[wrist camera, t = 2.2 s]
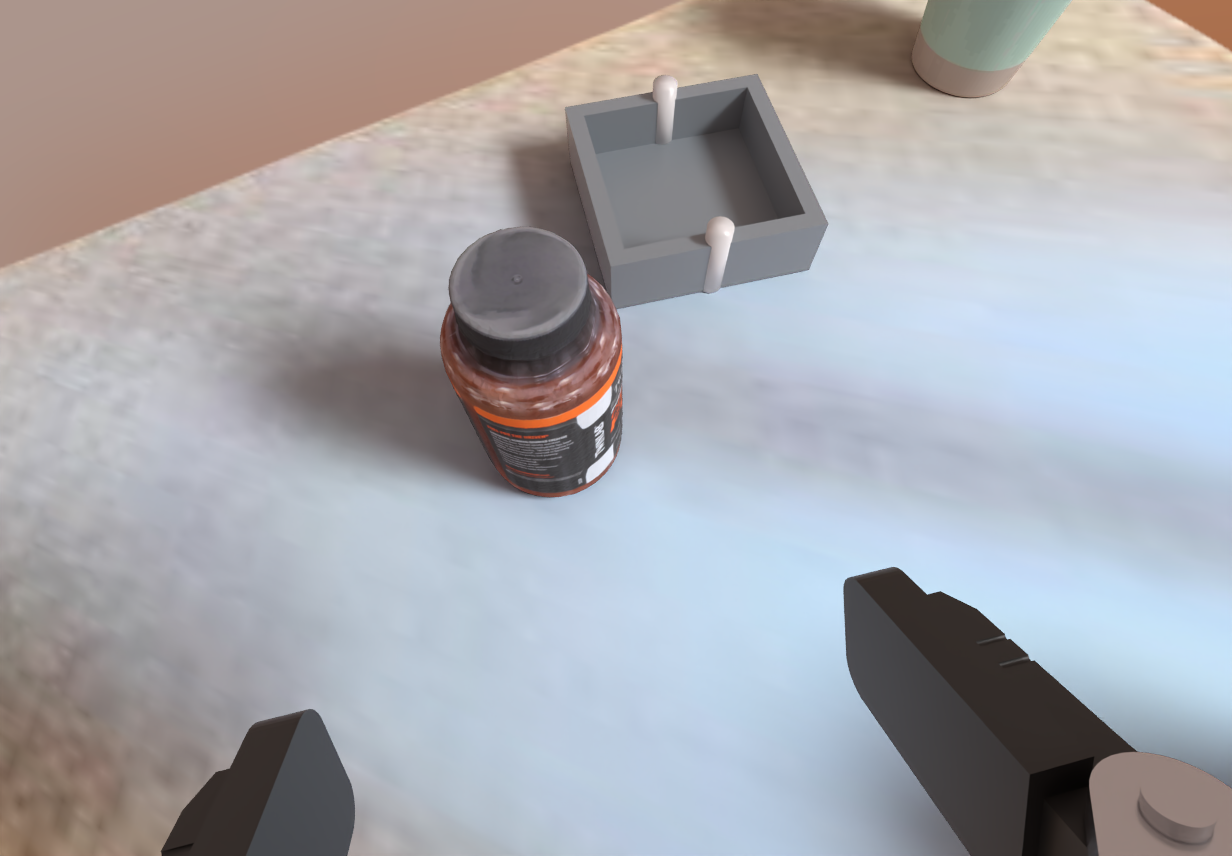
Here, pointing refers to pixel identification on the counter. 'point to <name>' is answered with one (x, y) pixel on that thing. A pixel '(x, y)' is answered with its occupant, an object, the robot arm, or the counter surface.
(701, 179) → the tray
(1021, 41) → the coffee cup
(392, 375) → the counter surface
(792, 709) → the counter surface
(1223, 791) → the robot arm
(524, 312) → the supplement bottle
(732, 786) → the counter surface
